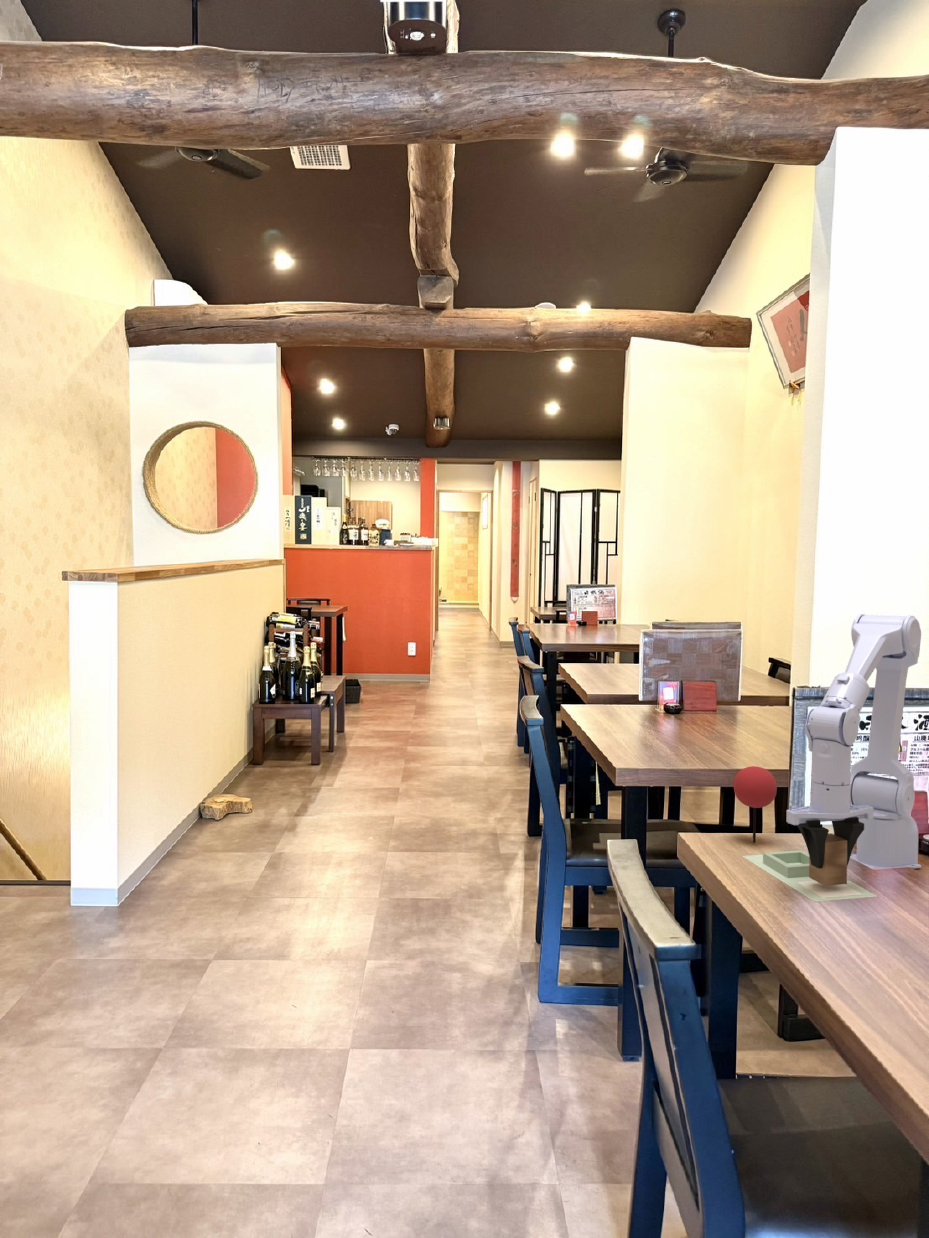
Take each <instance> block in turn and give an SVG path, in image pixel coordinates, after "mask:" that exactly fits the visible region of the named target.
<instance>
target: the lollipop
mask: <svg viewBox="0 0 929 1238" xmlns="http://www.w3.org/2000/svg"><path fill="white" fill-rule="evenodd" d="M733 790H734V791H733V792H734V794H735V797H736V798H737V800H738V801H739V802H740V803H741V804H742V805H745V806H746V807H749V808H753V809H752V810H753V811H752V818H753V820H752V843H753V844H756V837H757V836H756V835H757V829H756V828H757V809H760V808H765V807H767V806H768V805H770V804H771V803H772V802H773V801H774V799H776V796H777V792H778V791H777V790H778V787H777V782H776V779H775V776H774V775H773V773H771V771H770V770H768V769H766V768H763V767H760V766H754V765H753V766H747V767H744V768H742V769H741V770H739V771H738V772H737V773H736V775H735V777H734V780H733Z"/></svg>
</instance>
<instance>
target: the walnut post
mask: <svg viewBox="0 0 929 1238" xmlns="http://www.w3.org/2000/svg"><path fill="white" fill-rule="evenodd" d="M809 878H811V879H813V880H815V881H817V882H818V883H820V884H822V885H824V886H830V885H840V884H847V880H848V866H847V840H845V839H843V838H841V837H838V836H836V835H834V833H828V835H827V838H826V842H825V847H824V863H823V868H820V869H819V868H817V867H815V866H813V865H811V861H810V856H809Z"/></svg>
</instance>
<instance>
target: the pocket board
mask: <svg viewBox="0 0 929 1238" xmlns="http://www.w3.org/2000/svg"><path fill="white" fill-rule="evenodd" d="M741 856H742V858H744V859H746V860H747V861H749V862H750V863H752V864H754V865H755V866H756V867H758V868H760V869H761V870H764V872H766V873H767V874H769V875H771V876H773V877H774V878H775V879H777V880H779V881H781V882H782V883H784V884H785V885H787V886H789V887H791V888H792V889H794V890H795V891H796V892H798V893H800V894H801V895H803V896H805V897H806V898H808V899H809V900H811V901H813V902H814V903H818V902H819V903H820V902H829V901H830V902H832V901H841V900H854V899H867V898H878V897H879V895H876V894H874V893H873V892H871V891H869V890H867V889H866V888H863V887H862V886H861V885H858V884H856V883H854V882H853V881H851V880H849V879H847V884H840V885H830V886H824V885H822V884H820V883H818V882H817V881H815V880H813V879H811V878H809V852H807V851H804V850H801V849H800V850H787V851H785V850H784V851H773V852H763V854H754V855H741Z"/></svg>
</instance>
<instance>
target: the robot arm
mask: <svg viewBox="0 0 929 1238" xmlns="http://www.w3.org/2000/svg"><path fill="white" fill-rule="evenodd" d="M921 629H922V628H921V625H920V622H919V620H918V619H917V618H916V616H915V615H907V616H906V615H876V614H875V615H872V614H871V615H870V614H869V615H868V614H865V613H864V614H863V613H860V614H857V616H856V617H855V619H854V620H853V621H852V625H851V632H850V633H851V640H852V646H853V649H852V652H851V655H850V657H849V660H848V663H847V665H846V669H845V671H844V672H841V673H838V674H837V675H835V676H834V678H833V680H832V681H831V684H830V686H829V688H828V689H827V692H826V694H825V695H824V697H823V699H822V701H821V703H820V705H818V706H816V707H814V708H811V709H810V710H809V711H808V713H807V716H806V720H805V721H806V722H805V725H804V727H805V735H806V737H807V742H808V745H807V746H808V750H809V752H811V789H810V791H811V793H810V795H811V796H810V798H811V799H810V802H809V803H810V804H809V805H807V806H802V807H798V808H794V809H786V819H785V820H786V821H785V822H787V823H789V824H790V825H793V826H796V827H797V828H798V830H799V831H800V833H801V836H802V837H803V840H804V842H805V845H806V849H807V851H808V852H807V853H808V854H809V856H810V861H811V865H813V866H815V867H817V868H819V869H820V868H823V863H824V847H825V842H826V838H827V835H828V834H829V832H830V830H829V829H828V828H826V827H825V826H823V824H821V823H822V822H824V823H825V822H831V825H832V829H833V834H834V835H836V836H838V837H841V838H843V839H845V840H847V867H848V866H849V862H850V859H852V860H853V861H855V862H857V863H860V864H861V865H863V866H866V867H867V868H869V869H871V870H878V871H879V870H887V869H888V870H889V869H901V868H904V869H905V868H911V869H913V870H914V869H921V868H922V865H921V864H920V863H918V861H919V828H918V824H917V822H916V821H915V819H914V817H912V815H911V813H912V811H913V808H914V805H915V798H916V793H915V788H914V787H915V783H914V781H915V777H914V774H913V773H912V771H910V769H908V767H906V766H905V765H904V764H903V763H902V762H901V761H900V760H899V752H900V742H901V734H902V725H903V715H904V714H903V713H904V706H905V695H906V685H907V678H908V672H909V668H910V667H912V666H915V665H917V664H918V662H919V657H920V652H921V651H920V650H921V642H922V630H921ZM875 670H876V674H875V675H876V676H875V684H874V693H873V700H872V701H873V702H872V710H871V711H872V712H871V718H870V720H871V721H870V730H869V738H868V739H869V740H868V745H867V746H868V747H867V756H865V757H864V758H862V759H861V760H859V761H857V762H855V763H854V764H853V765H852V764H851V762H852V761H851V760H852V759H851V758H852V745H853V744H854V743H855V741H856V739H857V738H858V733H859V726H860V722H861V717H860V713H861V711H862V709H863V707H864V705H865V703H866V700H867V698H868V696H869V694H870V686H869V683H868V680H869V679H870V677H871V676H872V674H873V673H874V671H875ZM851 766H852V767H851ZM871 774H880V775H887V776H891V777H894V778H890V777H885V776H884V777H883V776H878V775H871ZM855 844H856V853H853V850H854V847H855Z"/></svg>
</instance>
